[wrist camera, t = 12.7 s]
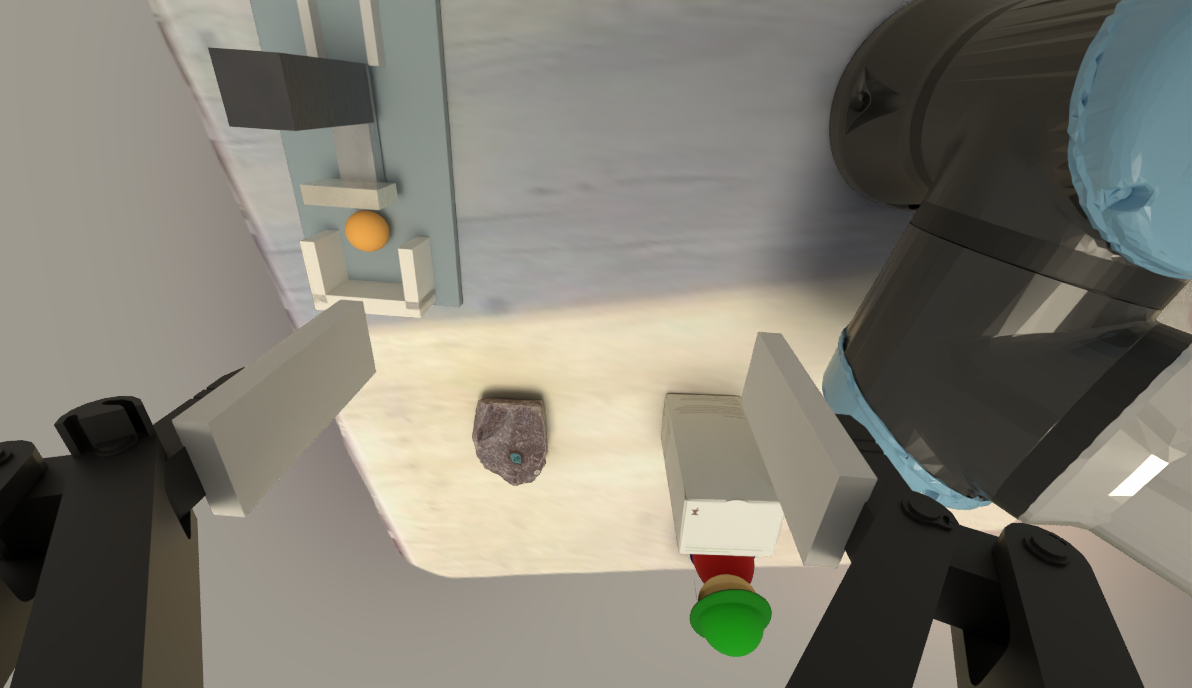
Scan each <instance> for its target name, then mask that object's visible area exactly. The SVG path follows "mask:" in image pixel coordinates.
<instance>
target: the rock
mask: <svg viewBox="0 0 1192 688" xmlns="http://www.w3.org/2000/svg"><path fill="white" fill-rule="evenodd" d="M472 439H473V442H474V444H475V449H476V455H477V457H478V458H479V459H480V462H481V463H482V464H483V465H484V468H485V469H488V470H490V471H491V472H493V473H495V474H498V475H500V476H501V477H502V478H503V479H504V480H505V481H507V482H508V483H509V484H511V485H513V486H518V485H520V484H523V483H531V482H533V481H534V480H535V479H536V477H537V476H538V475H539V474H540V473H541V471H542V468H543V466H545V464H546V460H545V455H546V453H547V438H546V423H545V412H544V406H543V401H542V400H513V399H500V398H497V399H495V398H485V399H483V400H479V401H478V406H477V408H476V415H475V420H474V428H473V434H472Z"/></svg>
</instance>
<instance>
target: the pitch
mask: <svg viewBox="0 0 1192 688" xmlns="http://www.w3.org/2000/svg"><path fill="white" fill-rule="evenodd" d="M250 3H251V7H252V12H253V16H254V20H255V25H256V29H257V33H258V38H259V42H260V46H261V51H265V52H279V53H287V54H295V55H303V56H310V57H318V58H326V59H334V60H342V61H350V62H358V63H366V64H368V65H369V70H370V77H371V84H372V91H373V98H374V105H375V113H376V120H377V127H378V134H379V141H380V148H381V155H382V162H383V169H384V176H385V182H388V183H396V189H397V196H398V202H396V203H394V204H392V205H390V206H388V207H385V208H383V209H381V210H372V209H358V208H345V207H332V206H318V205H305V204H304V201H303V197H302V192H301V188H300V184H304V183H307V182H311V181H315V180H318V179H322V178H334V179H341V176H340V171H339V165H338V160H337V155H336V149H335V144H334V138H333V133H332V127H329V128H320V129H310V130H301V131H288V130H280V133H281V138H282V142H283V146H284V151H285V155H286V159H287V164H288V168H289V172H290V177H291V181H292V185H293V190H294V194H295V198H296V203H297V207H298V212H299V216H300V220H301V225H302V229H303V233H304V238H305V239H306V238H308V237H310V236H313V235H315V234H317V233H319V232H322V231H324V230H326V229H329V230H340V236H341V241H342V246H343V251H344V256H345V261H346V267H347V272H348V277H349V280H361V281H374V282H387V283H400V284H403V282H402V274H401V267H400V260H399V253H398V248H400V247H401V246H403V245H404V244H406V243H407V242H409V241H410V240H411V239H413V238H414V237H416V236H422V237H430V245H431V255H432V264H433V274H434V283H435V293H436V302H435V303H434V304H433V305H438V306H451V307H460V306H461V305H462V304H463V300H462V287H461V274H460V260H459V247H458V234H457V221H456V208H455V195H454V182H453V169H452V156H451V143H450V130H449V117H448V104H447V91H446V77H445V64H444V51H443V38H442V25H441V12H440V0H250ZM365 210H366V211H372V212H375V213H377V214H379V215H380V216H381V217H382V218H383V219H384V220H385V221H386V223H387V225H388V227H389V233H390V234H389V239H388V241H387V243H386V245H385V246H384V247H382V248H381V249H379V250H377V251H373V252H366V251H362V250H359V249H357V248H355V247H354V246H353V245H352V244H351V243H350V242H349V240H348V239H347V237H346V234H345V224H346V222H347V220H348V218H349V217H350V216H351V215H352V214H354V213H356V212H358V211H365Z"/></svg>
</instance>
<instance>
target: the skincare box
mask: <svg viewBox="0 0 1192 688" xmlns="http://www.w3.org/2000/svg"><path fill="white" fill-rule="evenodd" d="M661 441H662V448H663V454H664V460H665V467H666V474H667V480H668V487H669V493H670V499H671V506H672V512H673V518H674V525H675V531H676V538H677V544H678V550H679V554H708V555H734V556H756V557H772V556H773V552H774V549H775V546H776V542H777V539H778V536H779V532H780V529H781V526H782V522H783V519H784V513H783V510H782V507H781V505H780V502H779V500H778V497H777V494H776V492H775V489H774V487H773V484H772V481H771V479H770V476H769V474H768V471H767V468H766V466H765V463H764V461H763V458H762V455H761V453H760V450H759V447H758V445H757V442H756V440H755V437H754V434H753V432H752V429H751V427H750V424H749V421H748V419H747V416H746V414H745V411H744V408H743V406H742V403H741V398H740V397H739V396H715V395H687V394H667V395H666V399H665V407H664V416H663V425H662V435H661Z"/></svg>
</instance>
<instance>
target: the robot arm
mask: <svg viewBox="0 0 1192 688" xmlns="http://www.w3.org/2000/svg"><path fill="white" fill-rule="evenodd" d="M830 144H831V150H832V154H833V157H834V160H835V163H836V165H837V167H838V169H839V171H840V173H841V175H842V176H843V178H844V179H845V180H846V181H847V183H848V184H849V185H850V186H851V187H852V188H853V189H854V190H856V191H857V192H858V193H860V194H861V195H863V196H864V197H866V198H868V199H870V200H872V201H875V202H877V203H880V204H882V205H885V206H888V207H891V208H895V209H900V210H908V211H916V213H915V215H914V217H913V218H912V220H911V221H910V222H909V224H908V226H907V228H906V229H905V231H904V233H903V234H902V236H901V238H900V240H899V241H898V243H897V245H896V247H895V248H894V250H893V252H892V253H891V255H890V257H889V259H888V260H887V262H886V264H885V266H884V267H883V269H882V271H881V272H880V274H879V276H878V277H877V279H876V281H875V282H874V284H873V286H872V287H871V289H870V291H869V292H868V294H867V296H866V297H865V299H864V301H863V302H862V304H861V306H860V307H859V309H858V311H857V312H856V314H855V316H854V317H853V319H852V321H851V322H850V324H848V325H847V327H846V328H845V329H843V331H842V333H841V335H840V337H839V342H838V348H837V349H836V351H835V353H834V355H833V357H832V359H831V361H830V363H829V365H828V367H827V369H826V371H825V373H824V376H823V381H822V391H823V395H824V397H823V396H822V394H821V393H820V391H819V390H818V388H817V387H816V385H815V384H814V382H813V381H812V379H811V378H810V376H809V375H808V373H807V372H806V370H805V369H804V367H803V366H802V364H801V363H800V361H799V360H798V358H797V357H796V355H795V354H794V352H793V351H792V349H791V348H790V346H789V345H788V343H787V342H786V340H785V339H784V337H783V335H782V334H778V333H765V332H758V334H757V338H756V342H755V346H754V350H753V354H752V358H751V362H750V366H749V370H748V374H747V378H746V382H745V386H744V390H743V394H742V398H741V403H742V406H743V408H744V411H745V414H746V416H747V419H748V421H749V424H750V427H751V429H752V432H753V434H754V437H755V440H756V442H757V445H758V447H759V450H760V453H761V455H762V458H763V461H764V463H765V466H766V468H767V471H768V474H769V476H770V479H771V481H772V484H773V487H774V489H775V492H776V494H777V497H778V500H779V502H780V505H781V507H782V510H783V513H784V515H785V518H786V520H787V523H788V526H789V528H790V531H791V533H792V536H793V539H794V541H795V544H796V547H797V549H798V552H799V554H800V557H801V560H802V562H803V565H805V566H817V567H828V568H837V567H838V565H839V563H840V561H841V559H842V556H843V554H844V552H845V551H846V553H847V555H848V557H849V559H850V561H851V565H850V567H849V568H848V570H847V572H846V574H845V576H844V578H843V580H842V582H841V584H840V585H839V587H838V589H837V591H836V593H835V595H834V597H833V599H832V600H831V602H830V604H829V606H828V608H827V610H826V612H825V614H824V615H823V617H822V619H821V621H820V623H819V625H818V627H817V629H816V631H815V632H814V634H813V636H812V638H811V640H810V642H809V644H808V646H807V647H806V649H805V651H804V653H803V655H802V657H801V659H800V661H799V663H798V664H797V667H796V668H795V670H794V672H793V674H792V676H791V678H790V680H789V681H788V683H787V685H786V687H785V688H912V687H913V683H914V680H915V677H916V673H917V670H918V667H919V663H920V660H921V657H922V654H923V650H924V647H925V644H926V640H927V637H928V634H929V631H930V627H931V624H932V621H933V619H935V620H938V621H941V622H944V623H946V624H949V625H951V633H952V642H953V650H954V660H955V667H956V677H957V686H958V688H1144V686H1143V683H1142V681H1141V679H1140V677H1139V674H1138V672H1137V670H1136V667H1135V665H1134V663H1133V661H1132V659H1131V656H1130V654H1129V652H1128V649H1127V647H1126V645H1125V643H1124V640H1123V638H1122V636H1121V634H1120V631H1119V629H1118V627H1117V624H1116V622H1115V620H1114V618H1113V615H1112V613H1111V611H1110V608H1109V606H1108V604H1107V602H1106V599H1105V598H1104V595H1103V593H1102V590H1101V588H1100V586H1099V584H1098V581H1097V579H1096V577H1095V574H1094V572H1093V570H1092V568H1091V566H1090V564H1089V563H1088V561H1087V560H1086V559H1085V557H1084V556H1083V555H1082V554H1081V553H1080V552H1079V551H1078V550H1077V549H1075V548H1074V547H1073V546H1072V545H1071V544H1070V543H1068V542H1067V541H1066V540H1064V539H1063V538H1060V537H1059V536H1057V535H1056V534H1054V533H1052V532H1049V531H1047V530H1044V529H1042V528H1040V527H1038V526H1033V525H1030V524H1037V525H1039V524H1040V525H1060V526H1074V527H1078V528H1082V529H1086V530H1089V531H1091V532H1092V533H1093V534H1095V535H1096V536H1098V537H1100V538H1101V539H1103V540H1104V541H1106V542H1107V543H1109V544H1110V545H1112V546H1114V547H1115V548H1117V549H1118V550H1120V551H1121V552H1123V553H1124V554H1126V555H1128V556H1129V557H1131V558H1132V559H1134V560H1135V561H1137V562H1138V563H1140V564H1141V565H1143V566H1145V567H1146V568H1148V569H1149V570H1151V571H1152V572H1154V573H1156V574H1157V575H1159V576H1160V577H1162V578H1164V579H1165V580H1166V581H1168V582H1169V583H1171V584H1173V585H1174V586H1176V587H1177V588H1179V589H1180V590H1182V591H1183V592H1185V593H1187V594H1188V595H1190V596H1191V597H1192V335H1191V334H1188V333H1186V332H1183V331H1180V330H1178V329H1175V328H1172V327H1170V326H1167V325H1164V324H1162V323H1160V322H1158V321H1157V320H1156V318H1157V316H1158V315H1159V314H1160V313H1161V311H1162V310H1163V309H1164V308H1165V307H1166V306H1167V305H1168V303H1169V302H1170V301H1171V300H1172V299H1173V298H1174V297H1175V296H1176V295H1177V294H1178V293H1179V292H1180V290H1181V289H1182V288H1183V287H1184V286H1185V285H1186V284H1187V283H1188V282H1189V281H1190V280H1191V279H1192V0H916V1H914V2H912V3H910V4H908V5H907V6H905V7H903V8H902V9H900V10H899V11H897V12H896V13H895V14H893V15H892V16H891V17H889V18H888V19H887V20H886V21H884V22H883V23H882V24H881V25H880V26H879V27H878V28H877V29H876V30H875V31H874V32H873V33H872V34H871V35H870V36H869V37H868V38H867V39H866V41H865V42H864V43H863V44H862V46H861V47H860V48H859V49H858V51H857V52H856V54H855V55H854V57H853V58H852V60H851V61H850V63H849V65H848V67H847V68H846V70H845V72H844V74H843V76H842V78H841V81H840V83H839V86H838V88H837V91H836V94H835V97H834V101H833V105H832V110H831V116H830ZM375 372H376V369H375V364H374V359H373V353H372V348H371V342H370V337H369V331H368V326H367V320H366V315H365V309H364V304H363V301H354V300H341V299H340V300H339V301H337V302H336V303H335V304H333V305H332V306H330V307H329V308H328V309H326V310H325V311H323V312H322V313H321V314H319V315H318V316H316V317H315V318H314V319H312V320H311V321H309V322H308V323H307V324H305V325H304V326H303V327H301V328H300V329H298V330H297V331H296V332H294V333H293V334H291V335H290V336H289V337H287V338H286V339H284V340H283V341H282V342H280V343H279V344H277V345H276V346H275V347H273V348H272V349H270V350H269V351H268V352H266V353H265V354H264V355H262V356H261V357H259V358H258V359H257V360H255V361H254V362H252V363H251V364H249V365H248V366H247V367H243V368H241V369H238V370H236V371H234V372H231V373H229V374H227V375H224V376H223V377H221V378H219V379H218V380H217V381H215V382H214V383H212V384H211V385H209V386H208V387H207V389H206V390H202V391H201V392H199V393H198V394H197V395H195V396H194V398H193V399H190V400H188V401H186V402H185V403H184V404H182V405H181V406H179V407H178V408H176V409H175V410H174V411H172V412H171V413H169V414H168V415H166V416H165V417H164V418H162V419H161V420H159V421H158V422H156V423H155V424H154V425H152V423H151V420H150V418H149V416H148V414H147V412H146V410H145V407H144V405H143V403H142V402H141V399H139V398H136V397H133V396H117V397H110V398H104V399H100V400H97V401H94V402H90V403H87V404H84V405H82V406H80V407H77V408H75V409H73V410H71V411H69V412H68V413H66V414H65V415H63V416H61V417H60V418H59V419H58V420H57V422H56V423H55V424H54V426H55V428H56V429H57V431H58V433H59V434H60V436H61V438H62V439H63V441H64V443H65V445H66V446H67V448H68V449H69V451H70V453H71V455H66V456H58V457H51V458H42V457H41V455H40V453H39V452H38V450H37V449H36V447H35V446H34V444H33V443H32V442H28V441H23V440H18V441H6V442H1V443H0V688H3V687H4V685H5V684H6V682H7V680H8V679H9V677H10V675H11V674H12V672H13V670H14V668H15V671H14V674H13V678H12V682H11V685H10V688H203V663H202V662H203V661H202V634H201V607H200V581H199V553H198V527H197V518H196V516H195V514H194V512H193V509H192V508H193V507H194V506H195V505H196V504H197V503H198V502H199V501H200V500H201V499H202V498H203V497H204V496H206V499H207V501H208V503H209V505H210V508H211V510H212V512H213V514H214V515H227V516H238V517H246V516H247V514H249V513H250V511H251V510H252V509H253V508H254V507H255V506H256V505H257V503H258V502H259V501H260V500H261V499H262V498H263V497H264V496H265V495H266V494H267V492H268V491H269V490H270V489H271V488H272V487H273V486H274V485H275V484H276V482H277V481H278V480H279V479H280V478H281V477H282V476H283V474H284V473H285V472H286V471H287V470H288V469H289V468H290V467H291V466H292V465H293V463H294V462H295V461H296V460H297V459H298V458H299V457H300V456H301V455H302V454H303V452H304V451H305V450H306V449H307V448H308V447H309V446H310V445H311V444H312V442H313V441H314V440H315V439H316V438H317V437H318V436H319V435H320V434H321V432H322V431H323V430H324V429H325V428H326V427H327V426H328V425H329V423H330V422H331V421H332V420H333V419H334V418H335V417H336V416H337V415H338V414H339V412H340V411H341V410H342V409H343V408H344V407H345V406H346V405H347V404H348V402H349V401H350V400H351V399H352V398H353V397H354V396H355V395H356V394H357V392H358V391H359V390H360V389H361V388H362V387H363V386H364V385H365V384H366V382H367V381H368V380H369V379H370V378H371V377H372V376H373V375H374V374H375ZM824 398H825V399H824ZM920 492H922V493H923V494H921V493H920ZM992 502H993V503H994V504H996V505H997V506H999V507H1000V508H1002V509H1003V510H1005V511H1006V512H1008V513H1009V514H1011V515H1012V516H1013V517H1015V518H1016V519H1018V520H1020V521H1021V522H1022V523H1011V524H1009V525H1008V526H1006V527H1005V528H1004V530H1003V531H1002V533H1001V534H1000V536H999V537H997V536H994V535H991V534H987V533H984V532H981V531H978V530H974V529H971V528H968V527H964V526H962V525H959V523H958V521H957V520H956V518H955V517H954V515H953V514H952V513H951V512H950V511H949V510H948V509H947V508H946V507H948V508H952V509H957V510H971V509H975V508H978V507H982V506H987V505H989V504H990V503H992Z"/></svg>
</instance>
